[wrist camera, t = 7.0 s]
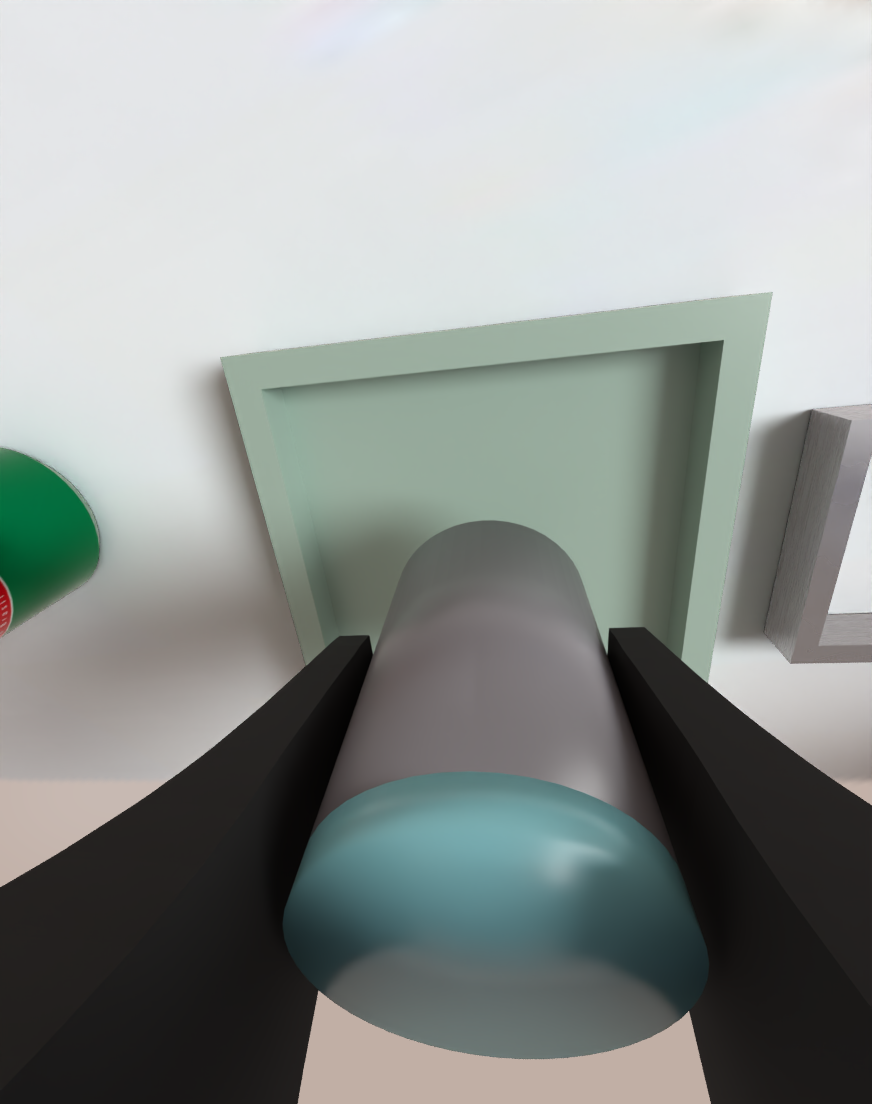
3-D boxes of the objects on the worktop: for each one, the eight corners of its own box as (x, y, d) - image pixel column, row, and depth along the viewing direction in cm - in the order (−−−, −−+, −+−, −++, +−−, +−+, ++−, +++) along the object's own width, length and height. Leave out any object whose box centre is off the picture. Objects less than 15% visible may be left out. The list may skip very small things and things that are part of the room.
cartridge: (620, 630, 11) (780, 1024, 5) (465, 704, 13) (441, 1078, 6) (518, 481, 10) (562, 764, 4) (359, 583, 11) (200, 907, 5)
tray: (732, 296, 11) (772, 292, 10) (678, 693, 16) (699, 734, 15) (254, 352, 13) (220, 357, 11) (339, 696, 18) (324, 733, 16)
